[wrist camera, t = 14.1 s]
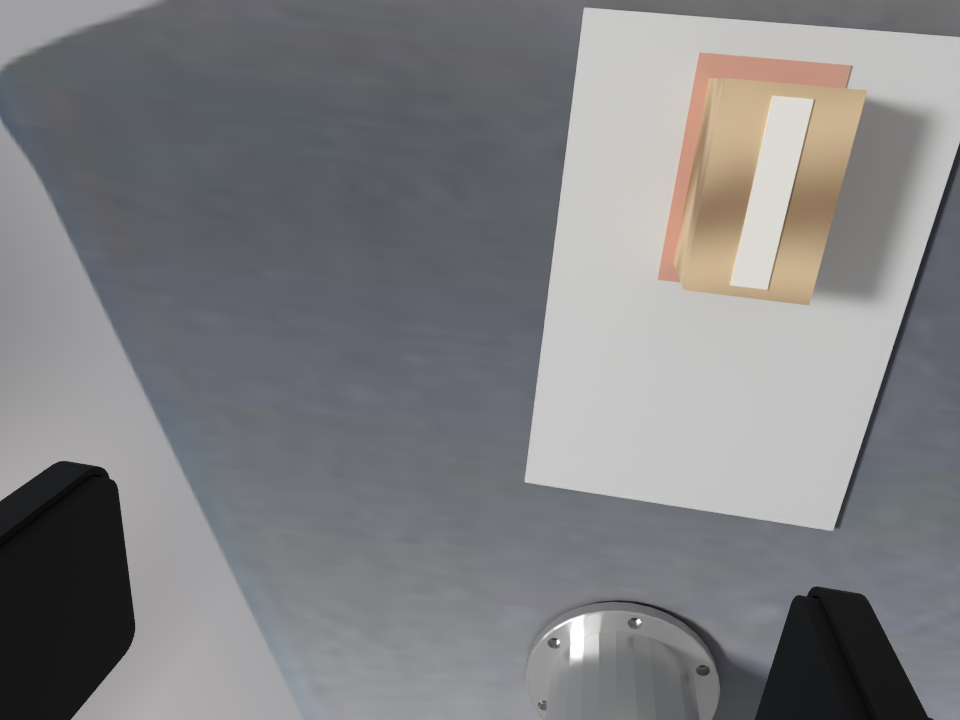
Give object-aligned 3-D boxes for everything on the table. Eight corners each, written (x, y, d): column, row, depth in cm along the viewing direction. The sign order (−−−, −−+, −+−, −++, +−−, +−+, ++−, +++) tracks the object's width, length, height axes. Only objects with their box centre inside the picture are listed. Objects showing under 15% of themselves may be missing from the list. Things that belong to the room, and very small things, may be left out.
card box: (708, 78, 34) (726, 78, 29) (830, 89, 33) (868, 90, 28) (673, 264, 37) (683, 290, 32) (783, 276, 36) (809, 306, 32)
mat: (830, 525, 42) (833, 532, 41) (525, 478, 44) (524, 483, 43) (987, 40, 32) (994, 39, 31) (584, 8, 34) (583, 7, 33)
